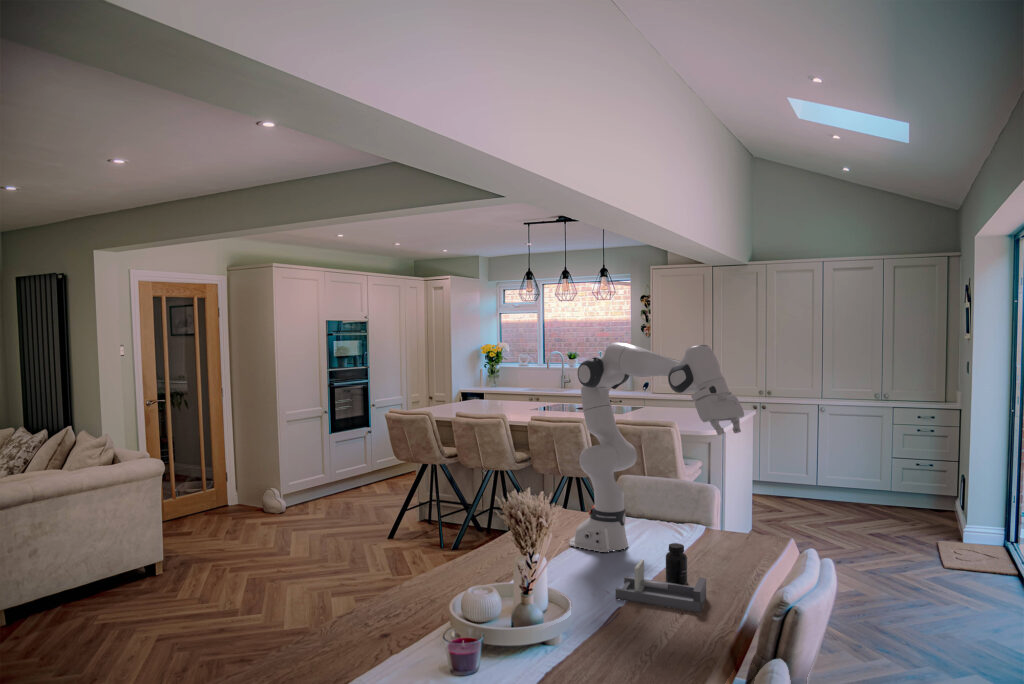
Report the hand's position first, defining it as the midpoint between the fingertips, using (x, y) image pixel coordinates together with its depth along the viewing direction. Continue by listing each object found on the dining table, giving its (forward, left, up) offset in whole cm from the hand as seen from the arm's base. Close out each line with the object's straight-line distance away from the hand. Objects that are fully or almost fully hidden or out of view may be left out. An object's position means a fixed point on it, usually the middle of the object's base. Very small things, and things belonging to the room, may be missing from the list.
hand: (729, 433), depth 198 cm
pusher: (-22, -14, -48) cm, 55 cm away
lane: (-19, -14, -49) cm, 55 cm away
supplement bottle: (-17, +1, -49) cm, 52 cm away
